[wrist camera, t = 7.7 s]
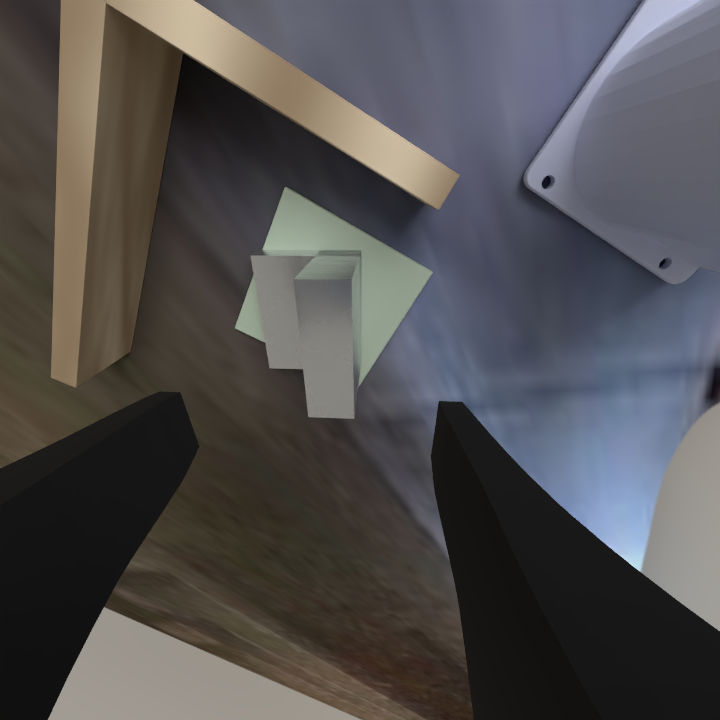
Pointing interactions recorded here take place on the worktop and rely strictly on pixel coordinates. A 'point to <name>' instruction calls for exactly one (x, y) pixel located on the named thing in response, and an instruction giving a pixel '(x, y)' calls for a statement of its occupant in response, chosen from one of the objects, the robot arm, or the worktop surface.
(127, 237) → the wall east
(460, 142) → the worktop surface
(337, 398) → the bracket
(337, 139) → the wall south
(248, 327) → the pad
